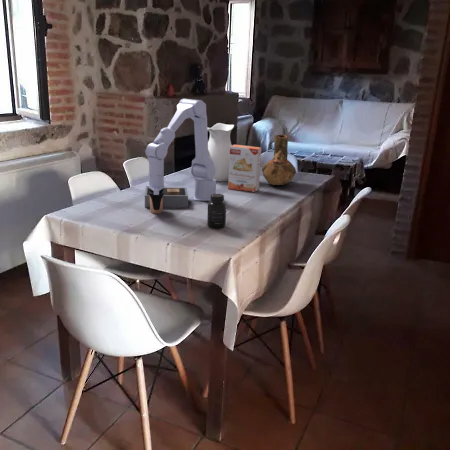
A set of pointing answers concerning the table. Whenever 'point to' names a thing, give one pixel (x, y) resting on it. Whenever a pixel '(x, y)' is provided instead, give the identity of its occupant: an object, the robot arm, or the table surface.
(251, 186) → the cracker box
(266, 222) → the table surface
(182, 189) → the tote
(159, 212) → the peach rounded capsule
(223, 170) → the pitcher
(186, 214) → the table surface
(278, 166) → the ceramic vessel
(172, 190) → the cube
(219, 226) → the supplement bottle
